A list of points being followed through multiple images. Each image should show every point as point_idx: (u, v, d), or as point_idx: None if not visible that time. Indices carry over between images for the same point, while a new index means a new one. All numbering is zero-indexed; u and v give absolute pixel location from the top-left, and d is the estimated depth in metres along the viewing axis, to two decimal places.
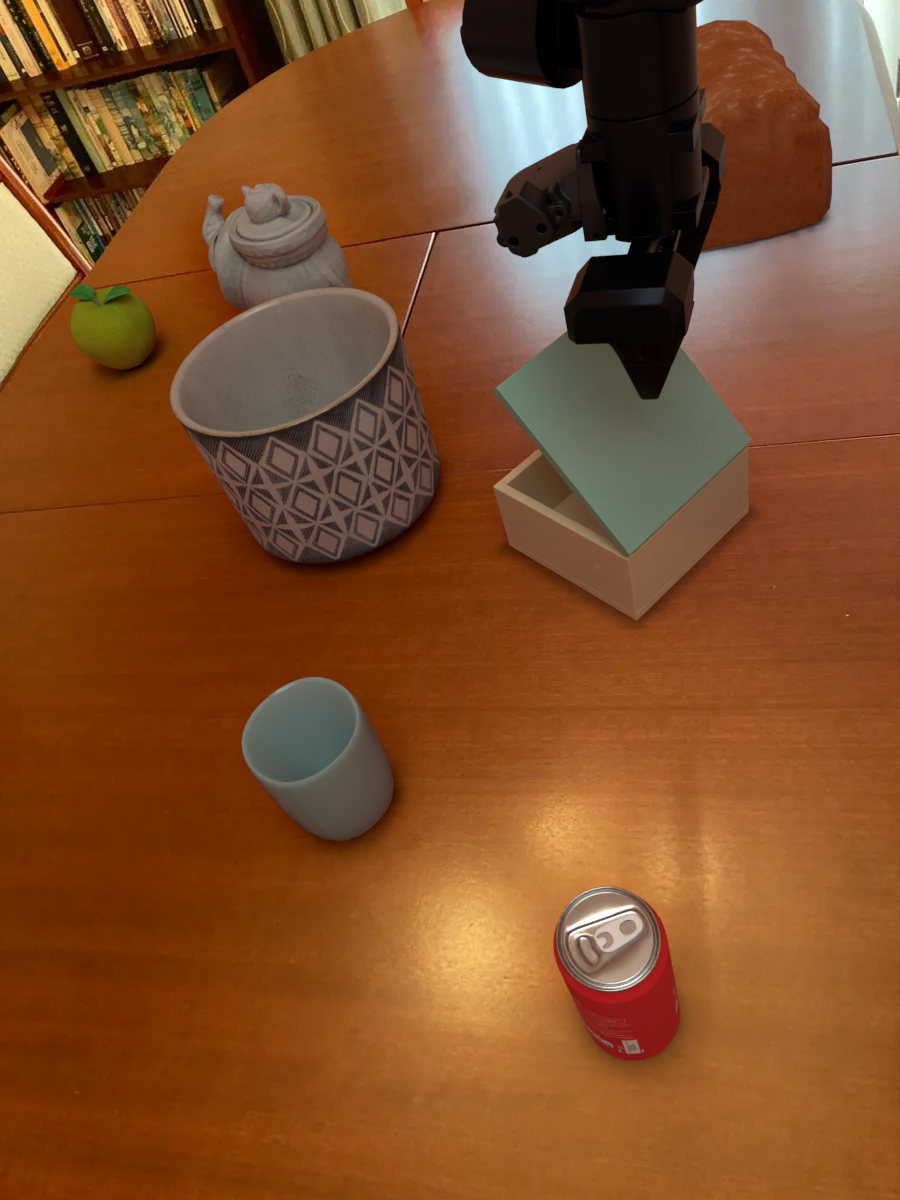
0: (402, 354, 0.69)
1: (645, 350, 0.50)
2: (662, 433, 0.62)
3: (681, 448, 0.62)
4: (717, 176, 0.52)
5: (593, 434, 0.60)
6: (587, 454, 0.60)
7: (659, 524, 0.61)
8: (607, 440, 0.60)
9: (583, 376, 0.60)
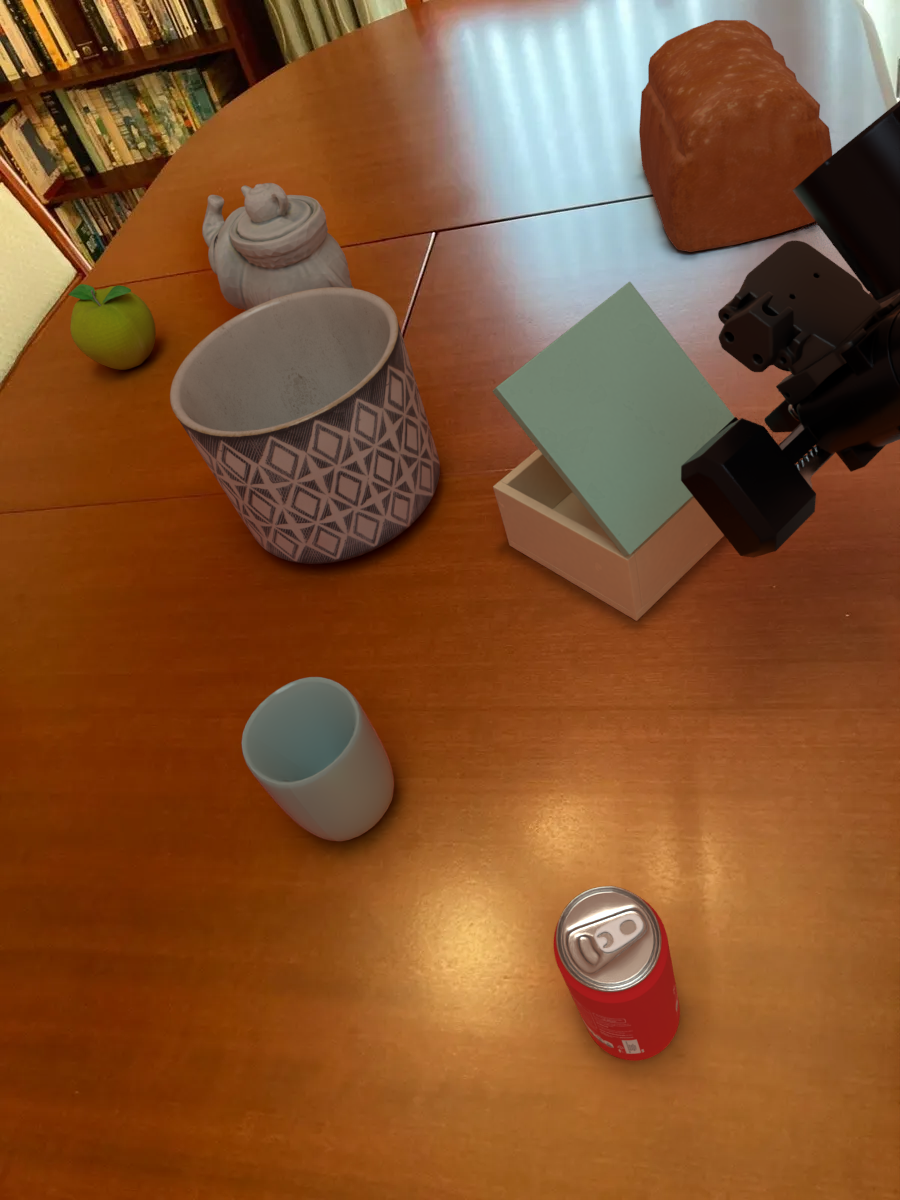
0: (402, 354, 0.69)
1: None
2: (662, 433, 0.62)
3: (681, 448, 0.62)
4: None
5: (593, 434, 0.60)
6: (587, 454, 0.60)
7: (659, 524, 0.61)
8: (607, 440, 0.60)
9: (583, 376, 0.60)
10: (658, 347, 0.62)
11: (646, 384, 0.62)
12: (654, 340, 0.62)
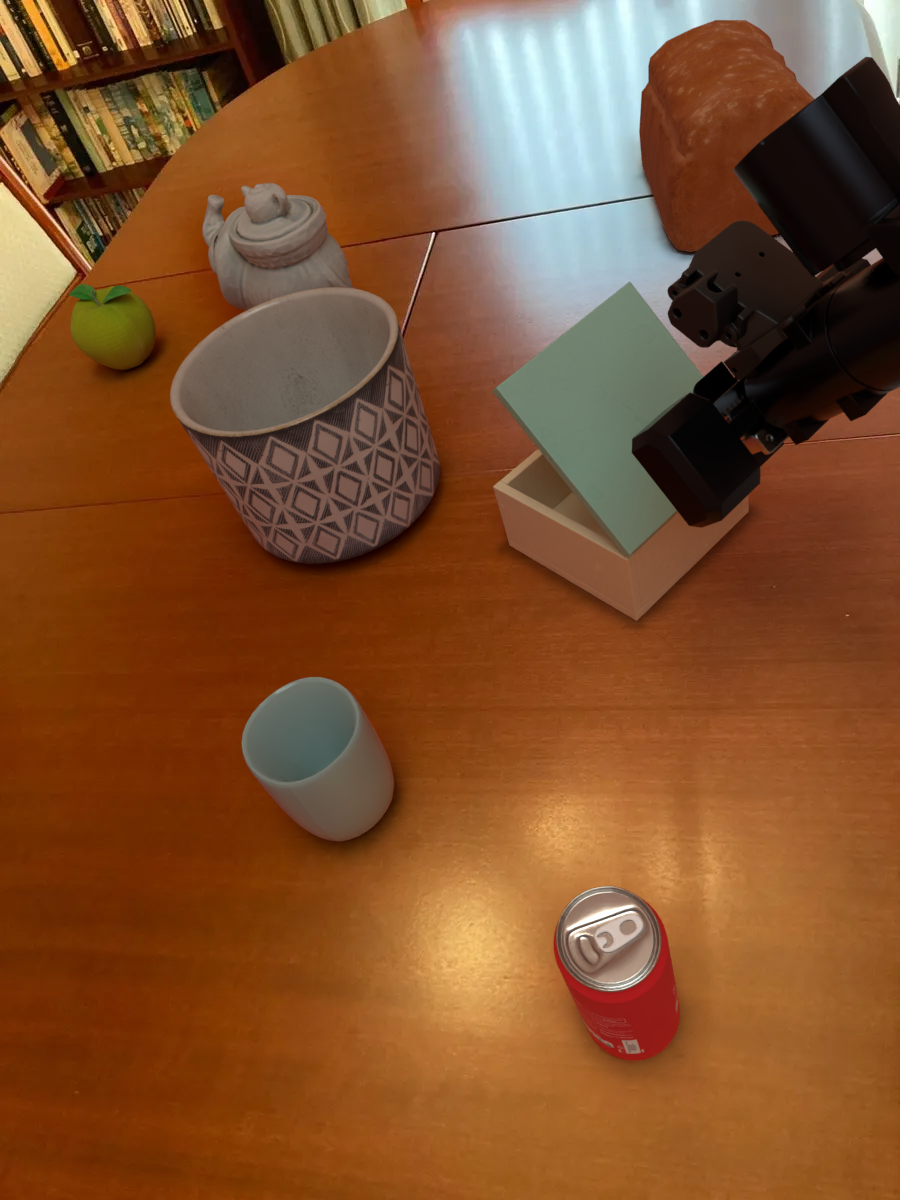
0: (402, 354, 0.69)
1: None
2: None
3: None
4: None
5: (593, 434, 0.60)
6: (587, 454, 0.60)
7: (659, 524, 0.61)
8: (607, 440, 0.60)
9: (583, 376, 0.60)
10: (658, 347, 0.62)
11: (646, 384, 0.62)
12: (654, 340, 0.62)
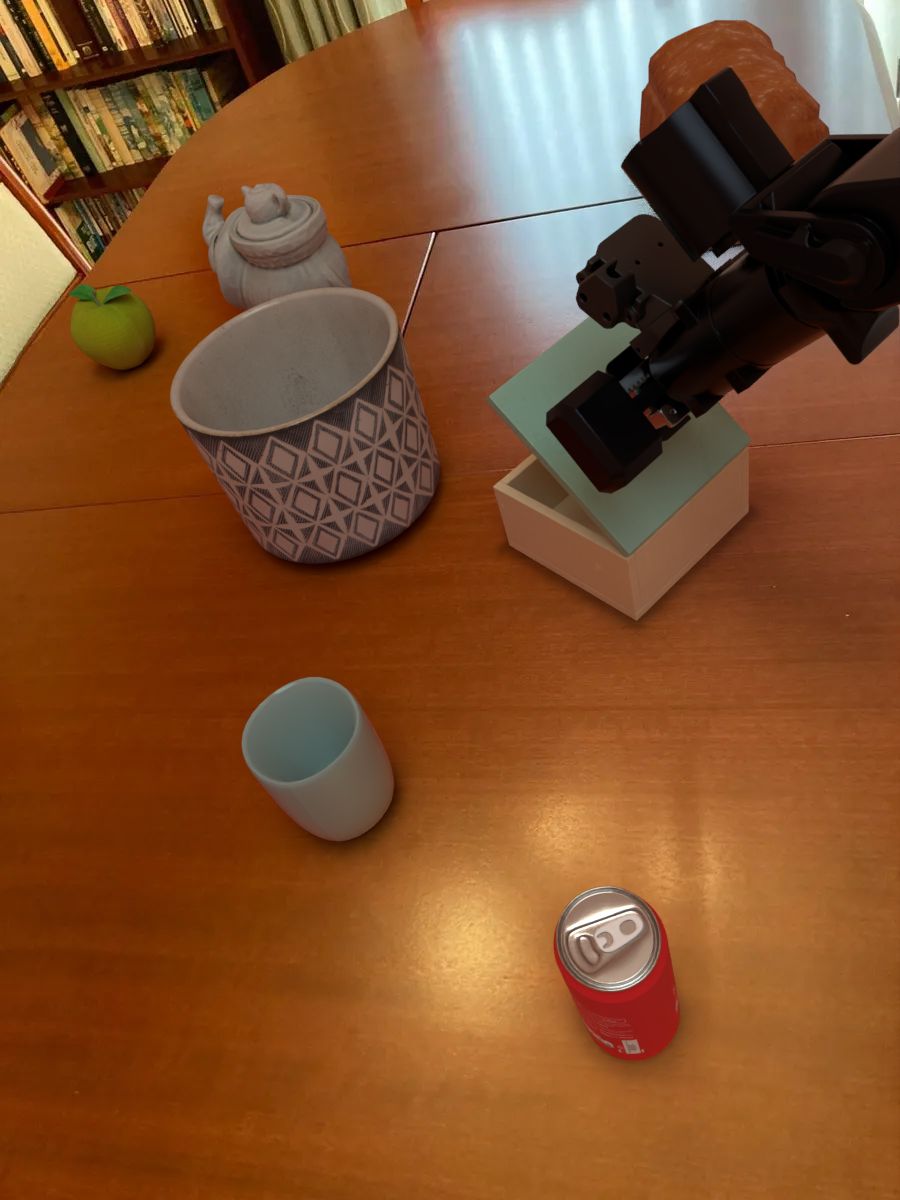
0: (402, 354, 0.69)
1: None
2: None
3: (678, 449, 0.62)
4: None
5: None
6: None
7: (659, 524, 0.61)
8: None
9: (576, 383, 0.62)
10: None
11: None
12: None
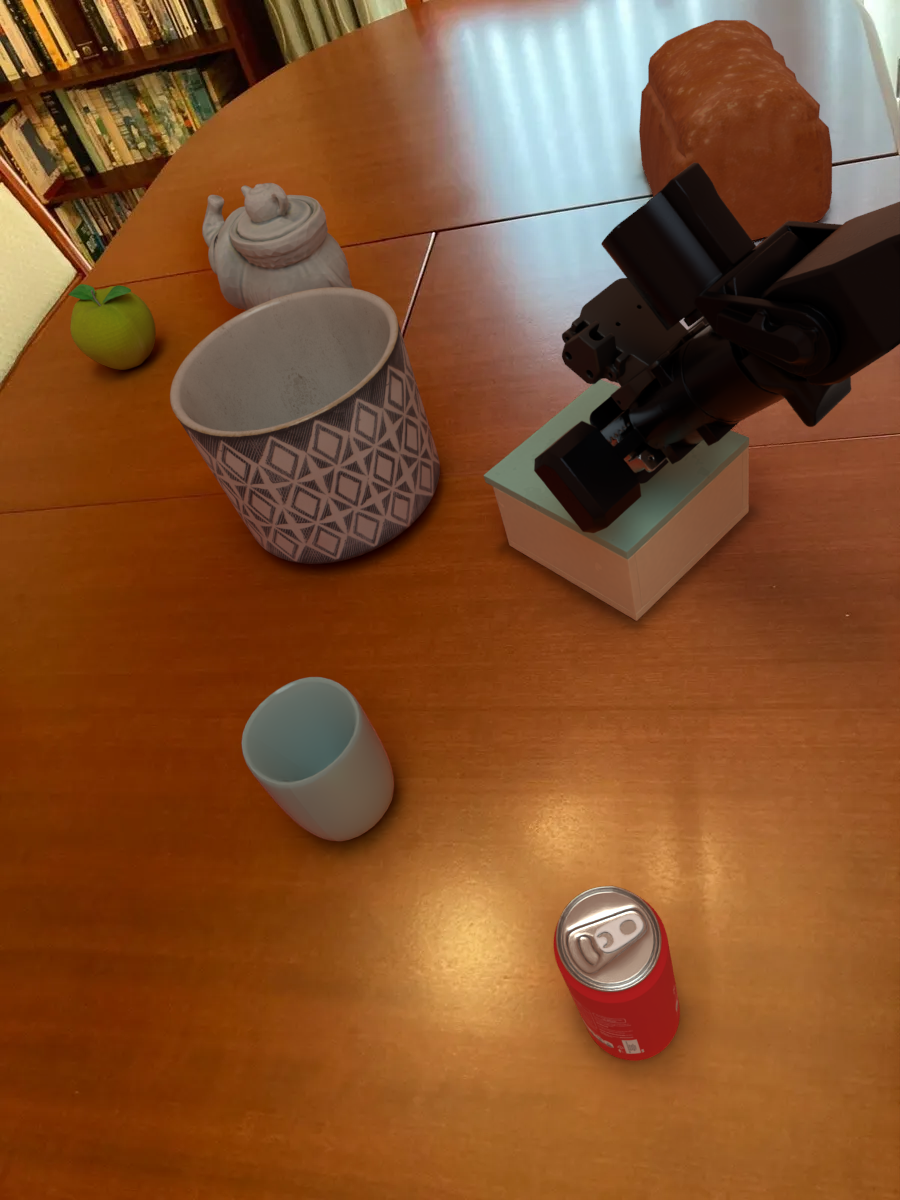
0: (402, 354, 0.69)
1: None
2: None
3: (669, 464, 0.64)
4: None
5: None
6: None
7: (655, 522, 0.61)
8: None
9: None
10: None
11: None
12: None
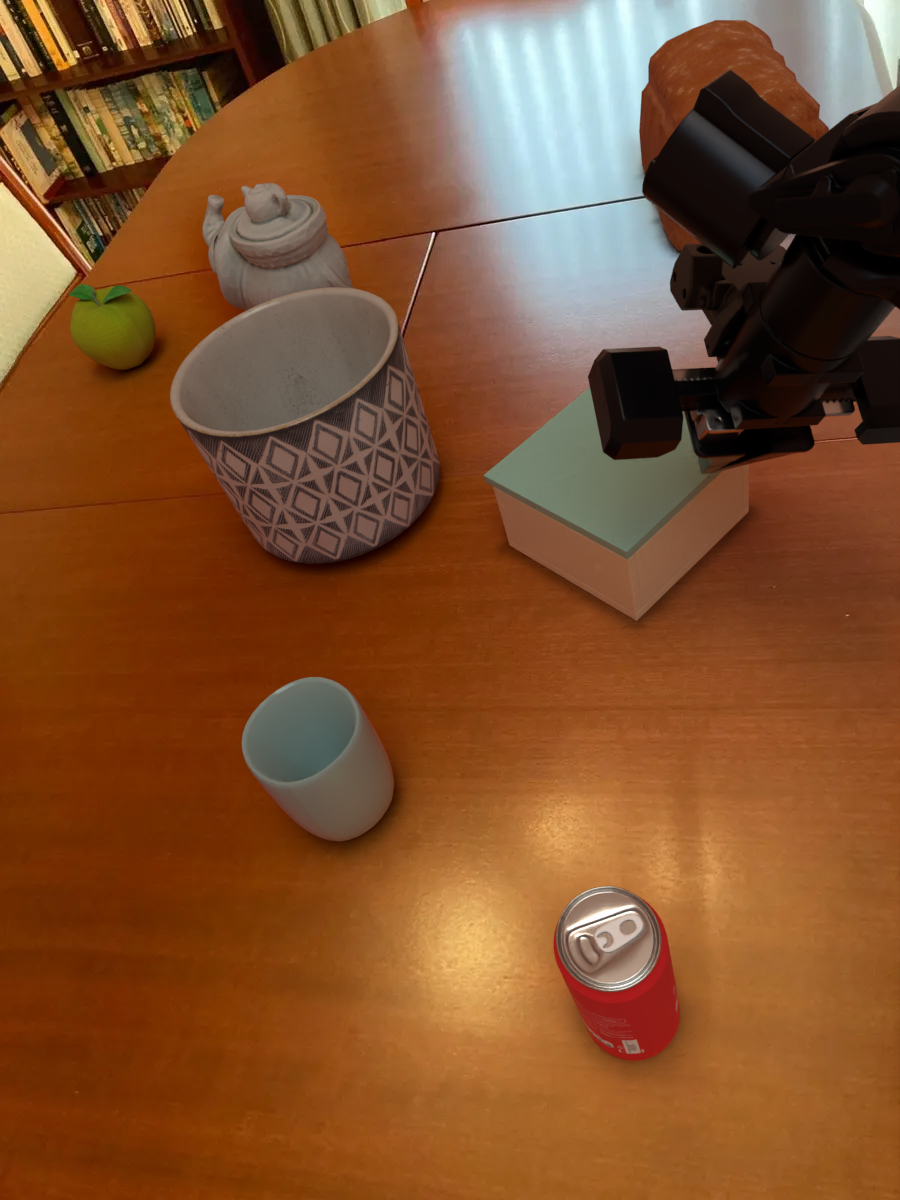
0: (402, 354, 0.69)
1: None
2: (647, 459, 0.65)
3: (669, 464, 0.64)
4: (858, 434, 0.50)
5: (576, 479, 0.66)
6: (572, 493, 0.65)
7: (655, 522, 0.61)
8: (591, 479, 0.65)
9: (562, 446, 0.68)
10: None
11: None
12: None
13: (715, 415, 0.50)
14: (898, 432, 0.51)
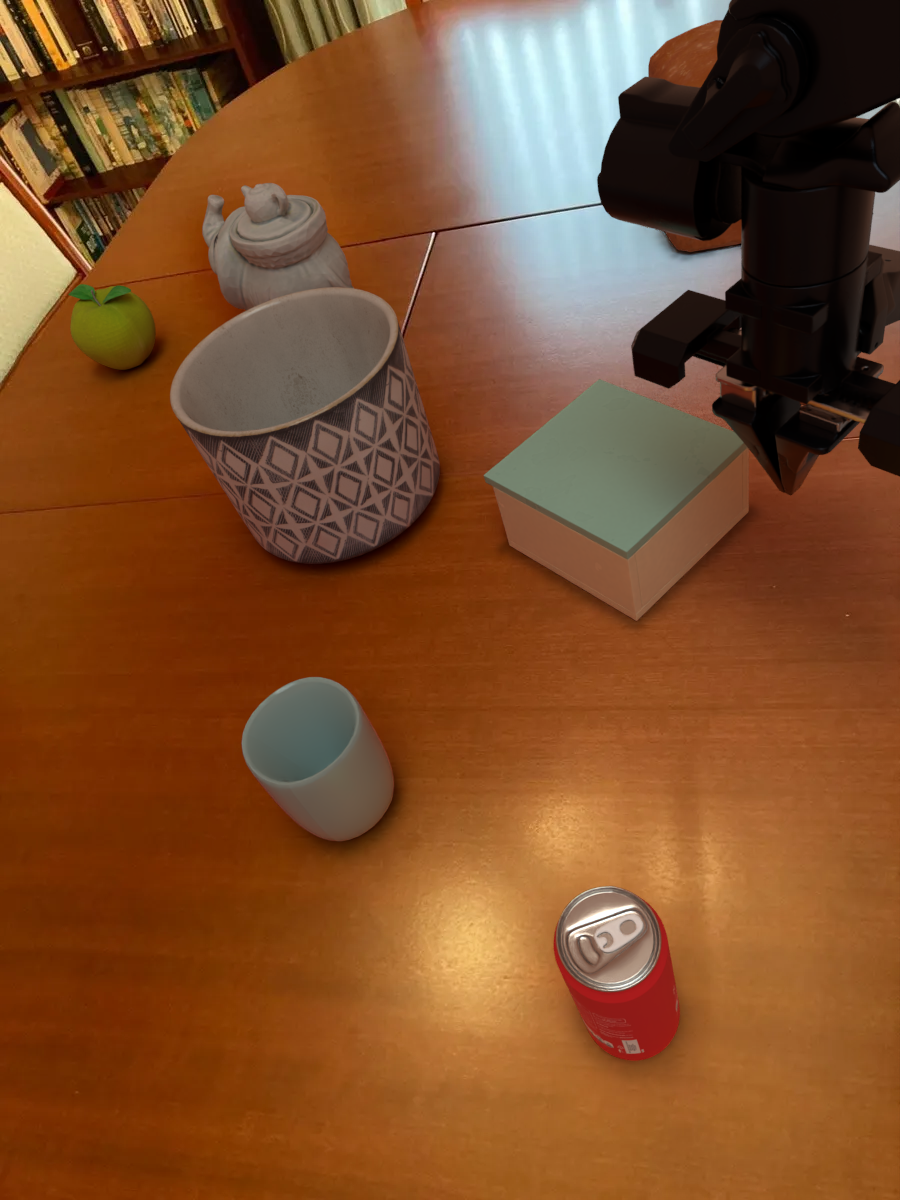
0: (402, 354, 0.69)
1: None
2: (647, 459, 0.65)
3: (669, 464, 0.64)
4: (859, 443, 0.44)
5: (576, 479, 0.66)
6: (572, 493, 0.65)
7: (655, 522, 0.61)
8: (591, 479, 0.65)
9: (562, 446, 0.68)
10: (633, 407, 0.69)
11: (625, 433, 0.67)
12: (628, 405, 0.70)
13: None
14: None
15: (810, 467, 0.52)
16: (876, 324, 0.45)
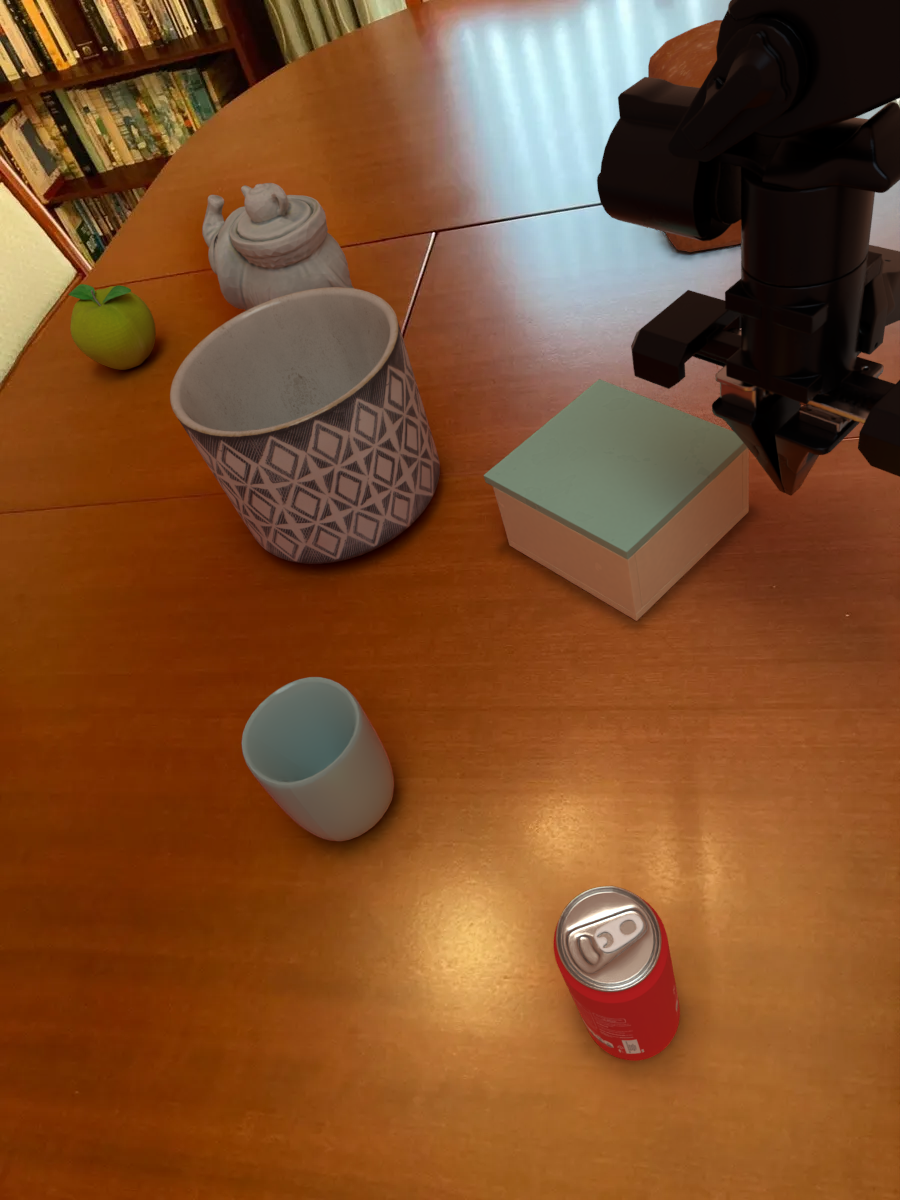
0: (402, 354, 0.69)
1: None
2: (647, 459, 0.65)
3: (669, 464, 0.64)
4: (859, 443, 0.44)
5: (576, 479, 0.66)
6: (572, 493, 0.65)
7: (655, 522, 0.61)
8: (591, 479, 0.65)
9: (562, 446, 0.68)
10: (633, 407, 0.69)
11: (625, 433, 0.67)
12: (628, 405, 0.70)
13: None
14: None
15: (810, 467, 0.52)
16: (876, 324, 0.45)
